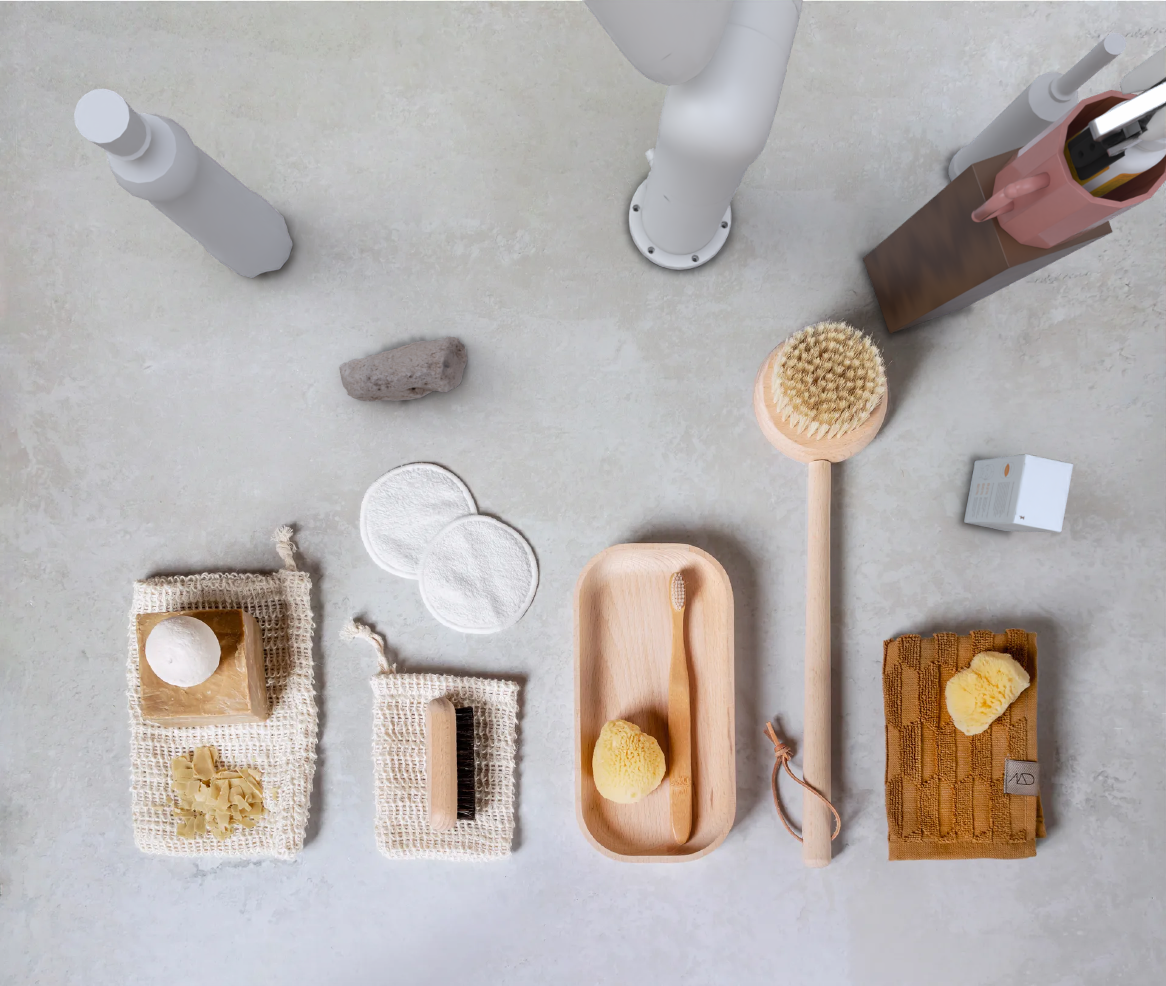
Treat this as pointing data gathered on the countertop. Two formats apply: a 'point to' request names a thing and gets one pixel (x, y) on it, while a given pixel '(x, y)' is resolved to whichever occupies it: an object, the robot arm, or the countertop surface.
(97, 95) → the bottle
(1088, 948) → the countertop surface
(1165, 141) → the supplement bottle
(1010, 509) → the small box
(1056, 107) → the bottle
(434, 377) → the pumice stone
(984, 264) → the stand
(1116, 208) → the pink octagonal mug
